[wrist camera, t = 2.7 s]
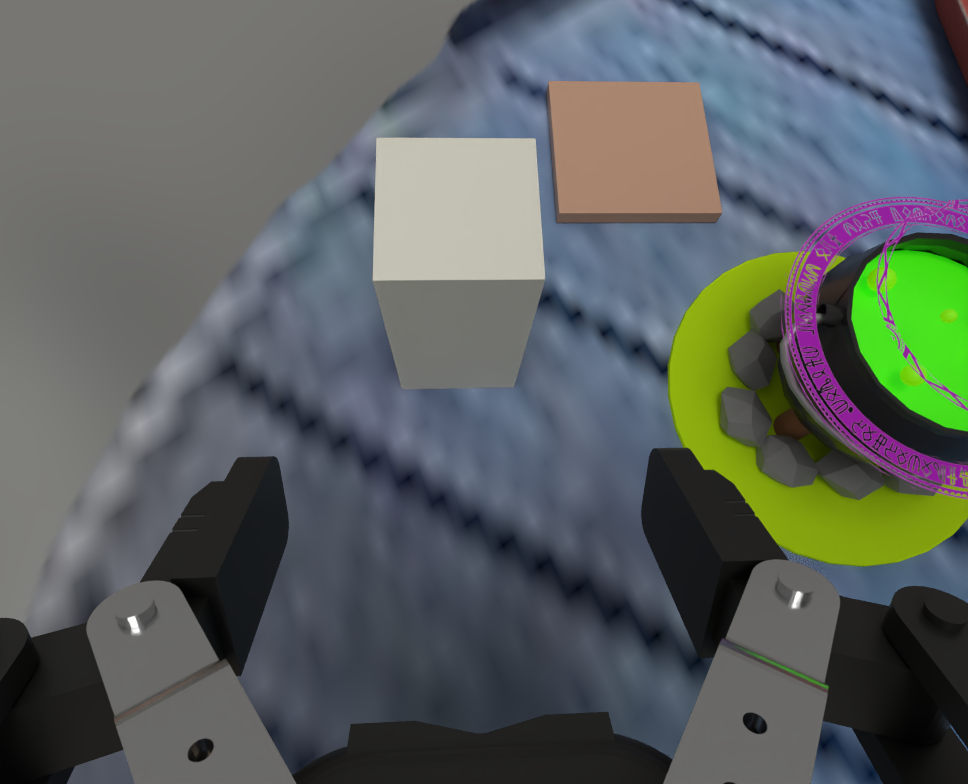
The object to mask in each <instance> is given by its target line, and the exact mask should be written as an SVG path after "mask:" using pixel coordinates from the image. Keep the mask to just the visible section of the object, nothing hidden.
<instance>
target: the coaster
mask: <svg viewBox="0 0 968 784" xmlns="http://www.w3.org/2000/svg"><path fill="white" fill-rule="evenodd" d="M546 94H547V106H548V119H549V132H550V145H551V157H552V170H553V183H554V195H555V208H556V221H557V223H693V222H716V221H717V220H718V218H719V217H720V216H721V214H722V209H721V203H720V197H719V192H718V186H717V180H716V175H715V169H714V163H713V158H712V152H711V146H710V141H709V135H708V130H707V124H706V118H705V113H704V107H703V101H702V96H701V90H700V84H699V83H687V82H586V81H549V82H548V87H547V93H546Z"/></svg>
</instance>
